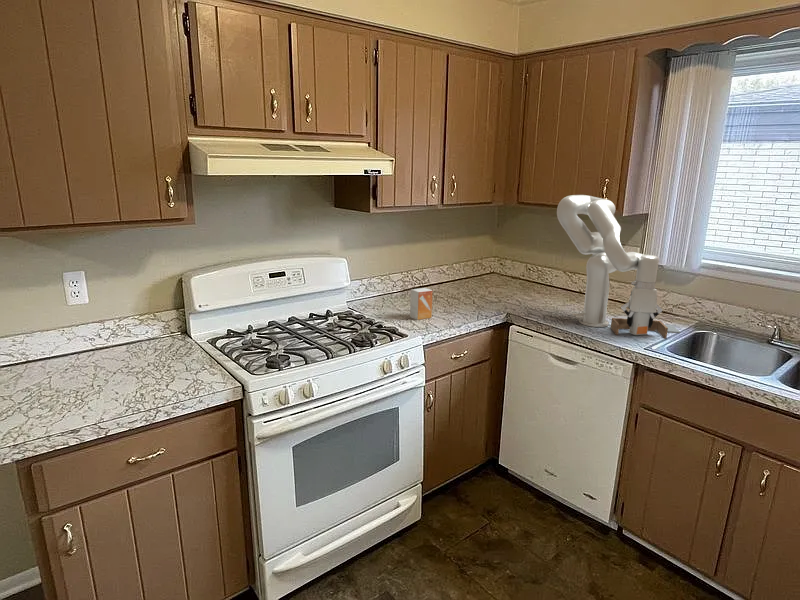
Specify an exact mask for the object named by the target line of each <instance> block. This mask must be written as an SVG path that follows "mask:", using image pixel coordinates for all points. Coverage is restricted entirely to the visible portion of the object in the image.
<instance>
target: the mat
mask: <svg viewBox="0 0 800 600" xmlns="http://www.w3.org/2000/svg"><path fill="white" fill-rule="evenodd" d="M664 325H665V326H666V327H668V331H667V334H668V333H669V334H681V331H680V330H679V329H678V328H677V327H675V325H674V324H673V325H672V324H664ZM654 332H656V333H658V330H655V331H654Z"/></svg>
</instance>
